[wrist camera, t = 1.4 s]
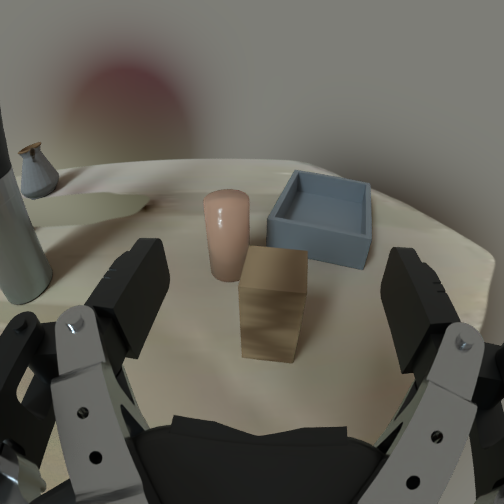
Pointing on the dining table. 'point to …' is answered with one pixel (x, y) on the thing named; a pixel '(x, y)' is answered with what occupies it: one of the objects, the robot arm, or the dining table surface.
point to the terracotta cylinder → (227, 232)
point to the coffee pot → (37, 173)
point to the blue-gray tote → (323, 219)
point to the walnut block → (272, 302)
